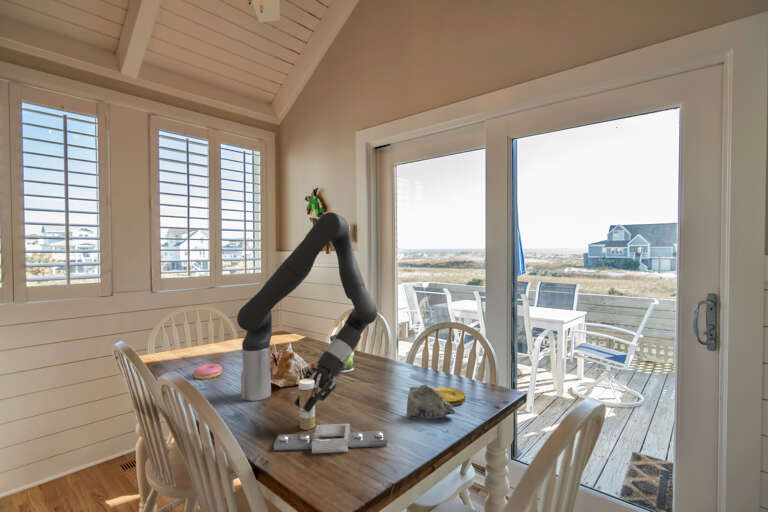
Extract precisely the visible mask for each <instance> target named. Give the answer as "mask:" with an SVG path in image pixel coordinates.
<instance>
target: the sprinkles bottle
mask: <svg viewBox="0 0 768 512" xmlns="http://www.w3.org/2000/svg"><path fill="white" fill-rule="evenodd" d="M314 386H315V381H314V380H313V379H300V380H298V390H299V395H300V407H299V429H301V430H304V431H308V430H311V429H313V428H316V427H315V426H316V418H315V417H316V404H315V405H314V406H313V408H312V409H311V410H310V412H306V411H305V410H304V409H303V407H304V405H305V404H306V402H307V401H308V399H309V398H310V397H312V393H313V391H314Z"/></svg>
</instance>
